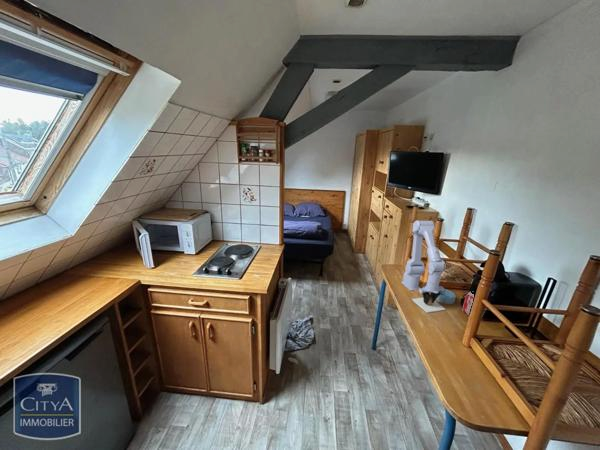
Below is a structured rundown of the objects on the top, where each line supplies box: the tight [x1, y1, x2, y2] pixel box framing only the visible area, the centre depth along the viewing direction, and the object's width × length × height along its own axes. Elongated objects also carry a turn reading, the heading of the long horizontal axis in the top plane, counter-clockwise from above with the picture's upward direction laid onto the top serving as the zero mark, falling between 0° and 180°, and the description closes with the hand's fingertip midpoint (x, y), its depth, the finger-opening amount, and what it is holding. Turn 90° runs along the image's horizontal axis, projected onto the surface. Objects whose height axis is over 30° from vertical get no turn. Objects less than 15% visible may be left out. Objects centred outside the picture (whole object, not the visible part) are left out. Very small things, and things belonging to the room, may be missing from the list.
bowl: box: [436, 288, 456, 305], centre depth 143 cm, size 10×10×4 cm
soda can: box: [462, 290, 474, 317], centre depth 129 cm, size 7×7×12 cm
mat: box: [410, 298, 447, 314], centre depth 137 cm, size 13×13×1 cm
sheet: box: [411, 297, 446, 314], centre depth 136 cm, size 12×12×4 cm
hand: (428, 302), depth 137 cm, fingers open, 4 cm apart
